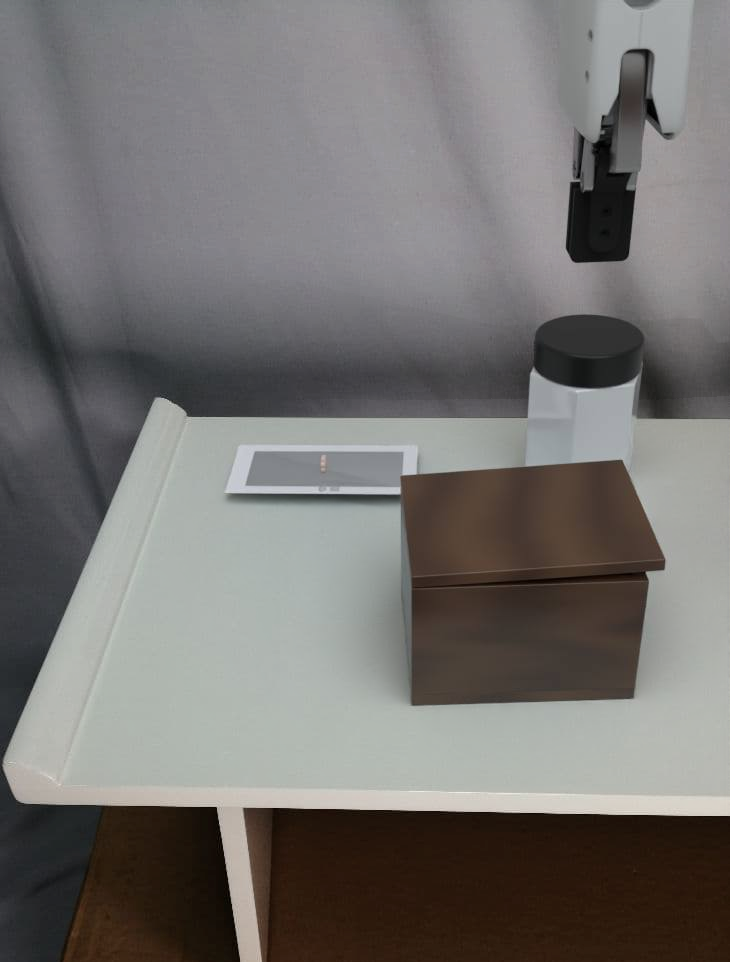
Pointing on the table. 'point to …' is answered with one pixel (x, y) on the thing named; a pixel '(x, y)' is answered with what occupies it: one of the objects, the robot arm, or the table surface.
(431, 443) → the table surface
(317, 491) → the touchpad
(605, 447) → the jar
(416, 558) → the lid
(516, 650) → the chest
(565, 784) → the table surface
